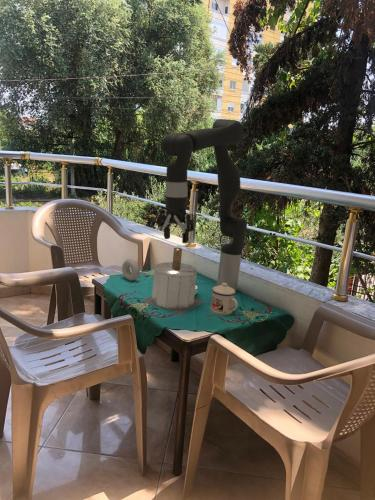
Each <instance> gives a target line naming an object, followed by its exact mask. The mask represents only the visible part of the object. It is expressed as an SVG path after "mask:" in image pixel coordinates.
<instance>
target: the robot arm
mask: <svg viewBox="0 0 375 500" xmlns="http://www.w3.org/2000/svg"><path fill="white" fill-rule="evenodd" d="M243 136H244V127H243V124H242V122H240V121H239V120H237V119H225V118H222V119H221V118H219V119H216V120H214V122H213V124H212V127H210V128H198V129H194V130H190V131H187V132H176V133H169V134H167V135H166V136H164V138H163V139H162V141H161V150H162V152H163V153H164V154H165V155H167V156H171V157H176V158H175V159H176V160H175V162H173V163H169V164H167V167H166V175H165V176H166V177H165V179H166V184H165V208H161V209H160V210H159V221H158V222H159V223H158V225H159V227H162V229H163V237H164V240H168V239H170V238H171V226H172V225H173V224H174V225H176V226H178V227H179V228H180V229H181V231H182V233H181V234H182V236H181V237H182V241H181V242H182V244H187V243H189V239H190V238H189V237H190V232H194V230H195V221H194V219H195V218H194V214H193V213H187V209H188V198H189V196H188V192H189V191H188V189H189V188H188V170H189V169H188V168H189V166H190V163H191V162H190V161H191V158H192V154H193V152H197V151H201V150H205V149H207V148H211V147H213V150H214V155H215V160H216V162H215V163H216V169H217V171H216V172H217V187H218V194H219V195H218V196H219V197H218V198H219V229H220V234H221V235H222V236H225V237H228V238H232V239H233V240H232V242H231V243H224V244H222V245H221V248H220V249H221V250H220V258H219V265H218V272H217V273H218V274H217V281H216V286H219V285H222V283H227V286H229V287H231V288H233V289H234V290H235V292H236V291H237V289H238V285H239V284H238V283H239V276H240V275H239V274H240V268H241V259H242V253H243V249H244V245H245V239H246V236H247V235H246V234H247V230H248V223H247V220H246V219H245V218H242V217H239V216H238V217H237V216H234V215H233V216H232V207H233V204H234V202H235V200H236V199H237V198H238V196H239V194H240V191H241V185H242V184H241V174H240V171H239V169H238V168H237V165H236V164H235V162H234V161H233V159H232V157H231V156H230V153H229V149H228V145H233V146H234V145H237V144H238V143H240V142H241V141H242V139H243Z"/></svg>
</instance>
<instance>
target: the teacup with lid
mask: <svg viewBox="0 0 375 500" xmlns="http://www.w3.org/2000/svg"><path fill="white" fill-rule="evenodd" d="M211 291H212V293H211V301H210V311H211V312H212V313H214V314H217V315H226V316H228V315H231V314H232V313H233V311H236V310H237V308H238V306H239V305H238V304H239V303H238V301H237V299H236V298H235V295H236V291H235V290H234V289H233V288H231V287H229V286H227V283H222V285H219V286H217V285H215V286H213V287H212V289H211Z"/></svg>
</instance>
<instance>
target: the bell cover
mask: <svg viewBox="0 0 375 500" xmlns="http://www.w3.org/2000/svg"><path fill="white" fill-rule="evenodd" d="M182 252H183V248H181V247H173V252H172V253H173V256H172V262H171V261H170V262H168V261H167V262H160V263H157V264H156V265H155V266H154V270H153V271H154V272H153V283H152V294H151V296H152V302H153V303H154V304H155V305H157V306H160V307H163V308H165V309H174V310H180V309H188V308H190V307H192V306H193V305H194V299H195V296H196V295H195V293H196V285H197V276H198V269H197V268H196V267H195V266H193V265H190V264H186V263H184V262H183V263H182V254H183V253H182ZM157 306H156V307H157ZM160 307H159V308H160ZM165 309H164V310H165Z"/></svg>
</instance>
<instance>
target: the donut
mask: <svg viewBox="0 0 375 500" xmlns="http://www.w3.org/2000/svg"><path fill="white" fill-rule="evenodd" d="M121 268H122V275H123V276H124V278H125V279H126V280H127V281H131V282H132V281H136V280H137V279H138V278H139V276H140V267H139V264H138V262H137V261H136V260H134V259H133V258H128V259H125V260H124V262H123V264H122V267H121Z"/></svg>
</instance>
